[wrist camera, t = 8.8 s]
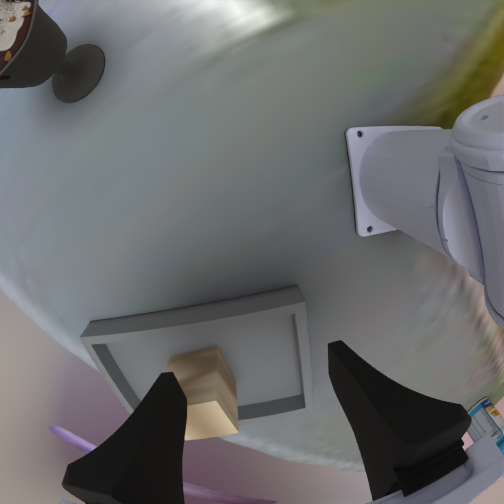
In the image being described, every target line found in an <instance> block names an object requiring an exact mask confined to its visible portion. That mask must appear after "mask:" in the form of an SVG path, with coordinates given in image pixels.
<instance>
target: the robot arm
mask: <svg viewBox="0 0 504 504" xmlns="http://www.w3.org/2000/svg"><path fill="white" fill-rule="evenodd" d="M358 131H359V132H360V133H361V137H360V138H359V137H358V136H357V132H358ZM346 140H347V147H348V154H349V161H350V168H351V176H352V185H353V195H354V205H355V217H356V231H357V233H358V235H360V236H362V237H366V236H370V235H375V234H380V233H384V232H389V231H394V230H400V231H402V232H404V233H406V234H407V235H409V236H411V237H413V238H415V239H417V240H418V241H420V242H422V243H424V244H426V245H427V246H429V247H431V248H433V249H434V250H436V251H438V252H439V253H441V254H443V255H445V256H446V257H448V258H450V259H451V260H453V261H455V262H456V263H458V264H459V265H461V266H462V267H464V268H466V269H468V271H469V274H470V276H471V277H472V278H474V279H475V280H477V281H478V282H480V283H481V284H483V285H484V296H485V302H486V306H487V309H488V311H489V314H490V315H491V317H492V318H493V320H494V321H495V322H496V323H497V324H498V326H500V327H501V328H502V329H504V95H500V96H496V97H492V98H489V99H486V100H483V101H481V102H479V103H476V104H474V105H472V106H471V107H469V108H467V109H466V110H464V111H463V112H462V113H461V114H460V115H459V116H458V117H457V119H456V121H455V124H454V126H453V128H452V129H442V128H441V127H432V126H375V127H354V128H349V129H347V131H346ZM369 226H370V227H371V229H370V230H369V231H367V228H368V227H369ZM328 369H329V376H330V379H331V383H332V385H333V388H334V391H335V393H336V396H337V398H338V400H339V402H340V404H341V406H342V408H343V410H344V412H345V414H346V416H347V419H348V421H349V423H350V425H351V427H352V429H353V432H354V434H355V437H356V440H357V443H358V447H359V450H360V453H361V456H362V460H363V463H364V467H365V470H366V474H367V478H368V482H369V486H370V490H371V495H372V500H373V501H372V502H370V503H367V504H469V503H470V502H471V501H473V500H474V499H475V498H477V497H478V496H479V495H481V494H482V493H483V492H484V491H486V490H487V489H488V488H489V487H491V486H492V485H493V484H494V483H496V482H497V481H498V480H499V479H500V478H501V477H502V476H504V456H503V454H502V452H501V451H500V449H499V448H498V446H497V445H496V443H495V442H494V440H493V439H492V437H491V436H490V434H486V435H484V436H483V437H482V438H481V439H479V440H478V441H476V442H475V443H474V444H472V445H471V446H470V447H469V448H467V449H466V450H465V451H464V449H463V448H462V446H463V445H464V442H463V441H462V439H461V438H462V436H463V435H464V434H465V432H466V431H467V430H468V428H469V427H470V425H471V422H472V418H471V417H470V415H469V414H468V412H467V411H466V410H465V409H464V407H463V406H462V405H461V404H456V403H451V402H446V401H442V400H438V399H435V398H431V397H428V396H425V395H423V394H420V393H418V392H415V391H413V390H410V389H408V388H406V387H404V386H402V385H400V384H399V383H397V382H395V381H393V380H392V379H390V378H388V377H387V376H385V375H384V374H382V373H381V372H379V371H378V370H376V369H375V368H374V367H372V366H371V365H370V364H368V363H367V362H366V361H365V360H363V359H362V358H361V357H360V356H358V355H357V354H356V353H355V352H354V351H353V350H352V349H350V348H349V347H348V346H347V345H346V344H345V343H344V342H343V341H341V340H339V341H335V342H332V343H328ZM186 423H187V397H186V396H185V394H184V392H183V390H182V388H181V386H180V384H179V382H178V381H177V379H176V377H175V375H174V373H173V372H163V373H161V374H160V375H159V376H158V378H157V379H156V381H155V382H154V384H153V385H152V387H151V388H150V390H149V391H148V392H147V394H146V395H145V397H144V398H143V400H142V401H141V402H140V404H139V405H138V406H137V408H136V409H135V410H134V412H133V413H132V414H131V415H130V417H129V418H128V419H127V420H126V421H125V423H124V424H123V425H122V426H121V427H120V428H119V429H118V430H117V431H116V432H115V433H114V434H113V435H111V436H110V437H109V438H108V439H107V440H106V441H104V443H102V444H101V445H100V446H98V447H97V448H96V449H94V450H93V451H91V452H90V453H88V454H87V455H85V456H83V457H82V458H80V459H78V460H76V461H74V462H73V463H71V464H68V466H67V469H66V472H65V476H64V479H63V482H62V486H63V488H64V489H65V490H67V491H68V492H70V493H71V494H72V495H74V496H75V497H77V498H79V499H80V500H82V501H83V502H85V503H86V504H185V503H184V494H183V480H182V456H183V455H182V454H183V446H184V439H185V431H186ZM60 504H76V503H73V502H70V501H67V500H64V499H62V500H61V503H60Z"/></svg>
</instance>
